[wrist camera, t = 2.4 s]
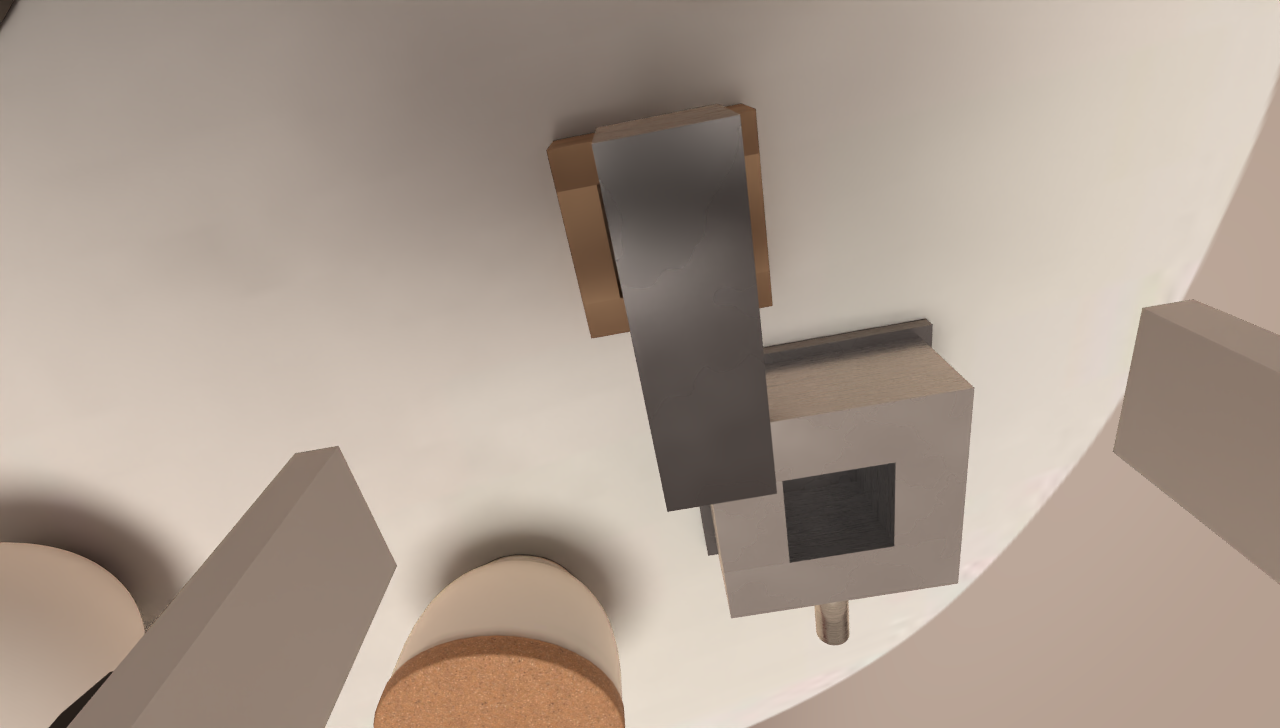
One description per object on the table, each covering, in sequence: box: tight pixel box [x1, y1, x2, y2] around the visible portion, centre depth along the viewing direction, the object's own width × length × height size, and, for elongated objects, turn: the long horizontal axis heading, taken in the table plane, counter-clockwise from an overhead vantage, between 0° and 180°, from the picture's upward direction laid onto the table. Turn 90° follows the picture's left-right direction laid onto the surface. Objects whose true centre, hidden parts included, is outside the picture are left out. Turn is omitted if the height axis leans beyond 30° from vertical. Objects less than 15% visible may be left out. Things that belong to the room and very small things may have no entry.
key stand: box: [546, 104, 773, 338], centre depth 23 cm, size 7×7×2 cm
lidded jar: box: [374, 555, 625, 728], centre depth 29 cm, size 11×11×9 cm
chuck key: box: [592, 104, 777, 512], centre depth 19 cm, size 9×3×12 cm, turn 10°
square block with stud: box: [700, 319, 974, 645], centre depth 28 cm, size 15×11×5 cm
